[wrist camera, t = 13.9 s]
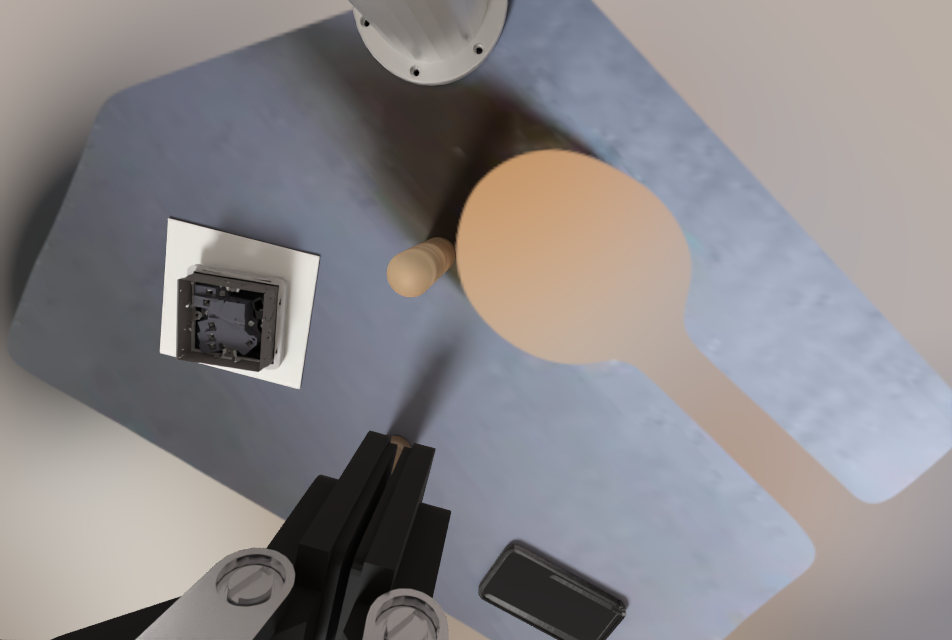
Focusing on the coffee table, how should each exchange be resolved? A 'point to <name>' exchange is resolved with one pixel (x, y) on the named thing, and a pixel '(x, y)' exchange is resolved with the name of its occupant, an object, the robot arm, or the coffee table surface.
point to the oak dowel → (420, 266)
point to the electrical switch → (231, 318)
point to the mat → (247, 256)
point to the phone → (549, 597)
